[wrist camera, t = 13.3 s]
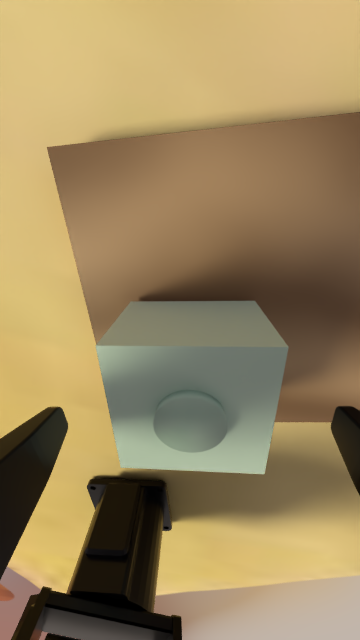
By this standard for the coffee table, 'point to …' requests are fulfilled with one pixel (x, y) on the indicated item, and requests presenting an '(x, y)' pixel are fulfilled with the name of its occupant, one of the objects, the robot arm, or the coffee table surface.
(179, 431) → the pale green knobbed block
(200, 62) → the coffee table surface
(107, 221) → the board
